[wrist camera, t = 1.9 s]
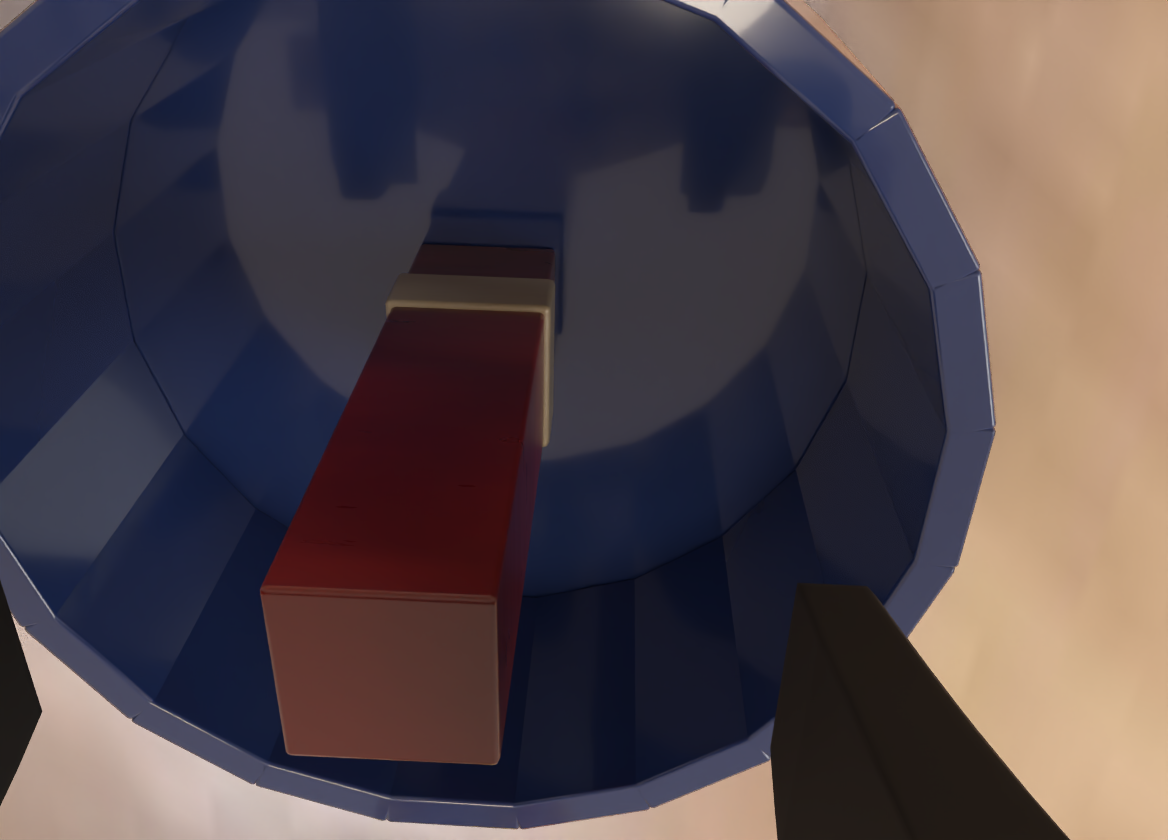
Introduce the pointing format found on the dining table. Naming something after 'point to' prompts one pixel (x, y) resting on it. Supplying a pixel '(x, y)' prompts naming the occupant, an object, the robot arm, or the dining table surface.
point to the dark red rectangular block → (421, 521)
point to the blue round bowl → (581, 356)
